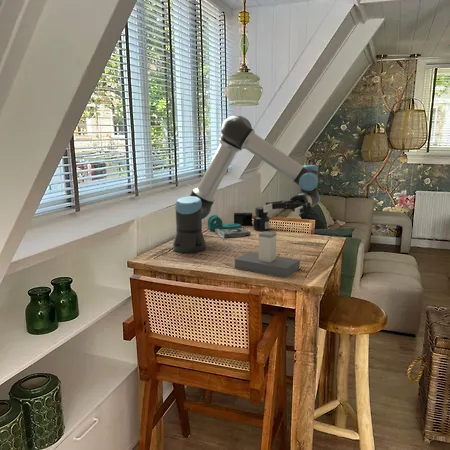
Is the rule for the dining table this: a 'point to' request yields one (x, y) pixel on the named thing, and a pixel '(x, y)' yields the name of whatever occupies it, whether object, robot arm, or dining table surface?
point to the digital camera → (243, 219)
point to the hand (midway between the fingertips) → (279, 210)
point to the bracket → (219, 224)
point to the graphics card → (232, 232)
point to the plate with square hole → (267, 265)
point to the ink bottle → (261, 220)
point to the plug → (267, 246)
